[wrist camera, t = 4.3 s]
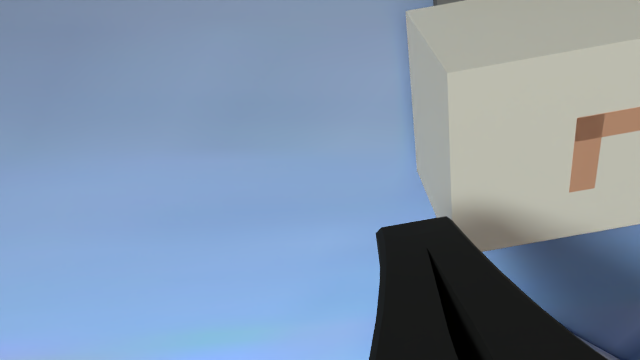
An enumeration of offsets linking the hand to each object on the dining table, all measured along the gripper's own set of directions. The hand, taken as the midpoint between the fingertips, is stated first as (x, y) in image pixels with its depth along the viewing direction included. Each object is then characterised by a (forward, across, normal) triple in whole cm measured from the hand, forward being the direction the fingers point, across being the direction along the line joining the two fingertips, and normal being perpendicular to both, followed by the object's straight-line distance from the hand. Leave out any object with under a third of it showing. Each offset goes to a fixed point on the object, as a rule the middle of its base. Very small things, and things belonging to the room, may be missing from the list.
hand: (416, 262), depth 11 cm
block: (+5, -5, 0) cm, 7 cm away
